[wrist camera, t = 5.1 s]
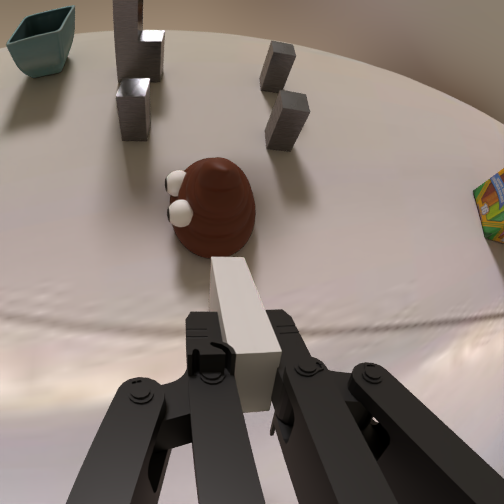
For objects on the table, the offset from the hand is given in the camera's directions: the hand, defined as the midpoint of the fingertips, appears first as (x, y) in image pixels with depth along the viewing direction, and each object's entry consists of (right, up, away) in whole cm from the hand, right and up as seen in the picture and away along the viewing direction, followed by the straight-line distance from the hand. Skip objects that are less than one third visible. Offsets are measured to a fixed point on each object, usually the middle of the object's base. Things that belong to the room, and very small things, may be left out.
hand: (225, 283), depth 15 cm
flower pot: (-30, +30, +21) cm, 48 cm away
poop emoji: (-3, +5, +18) cm, 19 cm away
